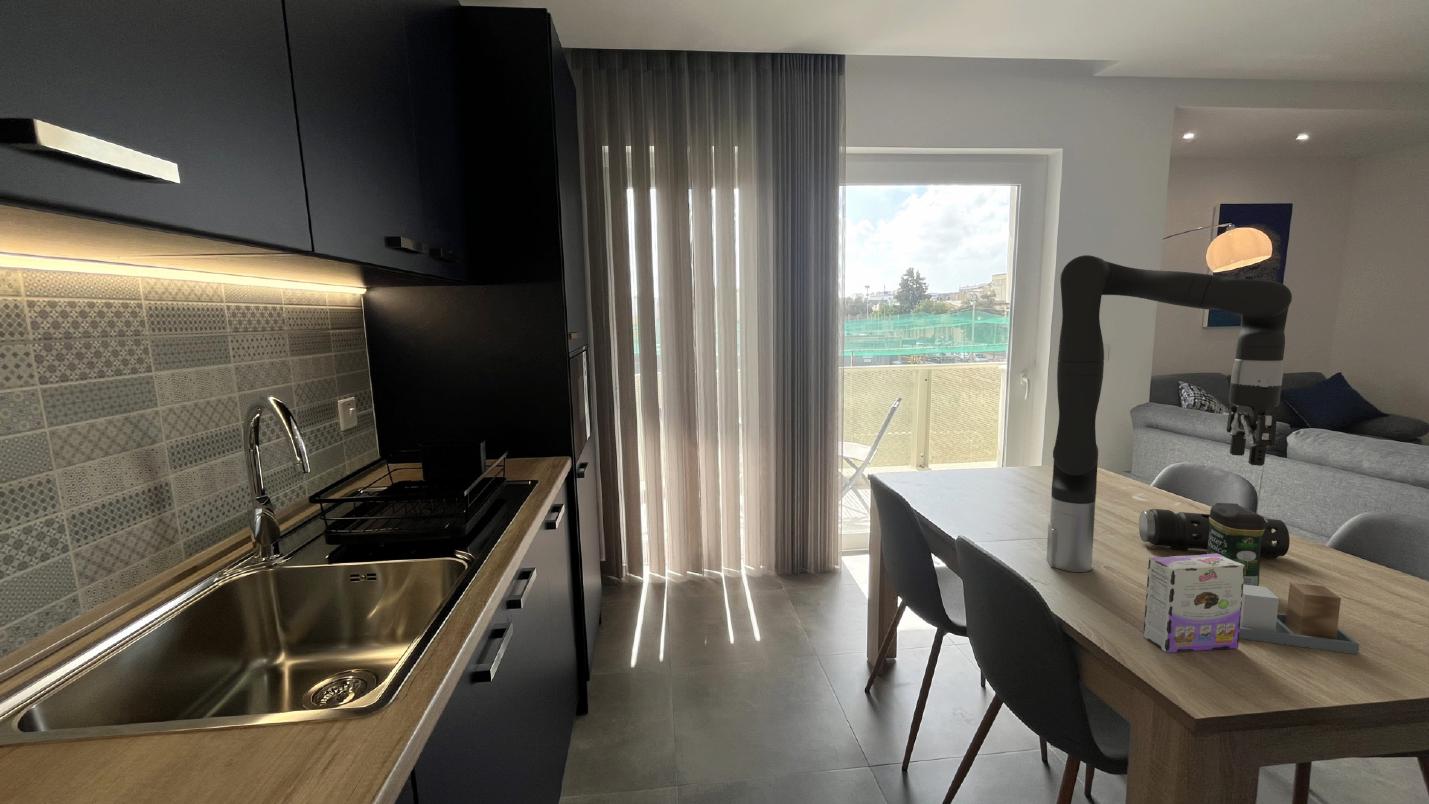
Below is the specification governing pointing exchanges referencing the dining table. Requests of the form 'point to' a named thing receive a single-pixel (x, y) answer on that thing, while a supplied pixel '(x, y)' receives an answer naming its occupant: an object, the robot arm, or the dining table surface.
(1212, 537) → the coffee jar
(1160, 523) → the muzzle brake
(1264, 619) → the divider rack
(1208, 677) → the dining table surface
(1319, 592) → the walnut plug
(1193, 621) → the candy box
